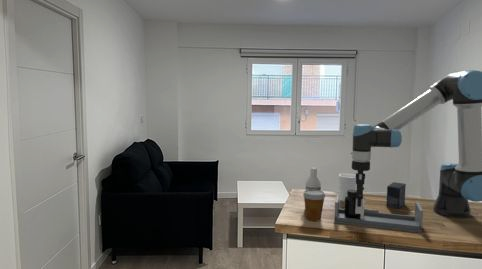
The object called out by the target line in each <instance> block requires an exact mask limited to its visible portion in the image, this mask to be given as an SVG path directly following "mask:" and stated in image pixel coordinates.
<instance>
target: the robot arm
mask: <svg viewBox="0 0 482 269" xmlns="http://www.w3.org/2000/svg"><path fill="white" fill-rule="evenodd" d="M451 100H452V104H453V106H454V107H455V108H456V109H457V110H456V112H457V114H456V115H457V141H458V142H457V144H458V145H457V146H458V147H457V148H458V150H457V151H458V163H442V164H441V165H440V170H439V184H438V186H439V187H438V195H437V198H436V199H435V201H434V204H433V212H435V213H437V214H439V215H442V216H446V217H451V218H458V219H459V218H460V219H461V218H469V217H470V216H471V212H472V211H471V206H470V203H469V201H471V202H476V203H477V202H478V203H479V202H482V71H481V70H475V69H469V70H461V71H460V70H459V71H454V72H451V73H449V74H447V75H445V76H443V77H442V78H440V79H439V80H438V81H436V82H435V83H434V84H431V86H429V88H428V90H426V91H425V92H424V93H422V94H421V95H419V96H418V97H417V98H415V99H414V100H412V101H410V102H409V103H407V104H406V105H404V106H402V107H401V108H400V109H398V110H397V111H395V112H394V113H392V114H391V115H389V116H388V117H386V118H384V119H383V120H382V121H381V122H378V123H377V124H375V125H371V124H367V123H365V124H363V123H359V124H358V123H357V124H355V125H354V126H353V129H352V130H353V131H352V151H351V152H350V155H352V156H351V158H352V160H351V169H352V170H354V171H357V172H355V175H356V190H357V196H355V199H356V210H355V213H356V214H362V207H363V199H364V191H365V187H364V185H365V179H366V172H368V171H370V170H371V159H372V158H371V156H372V148H398V147H399V148H400V146H401V144H402V141H403V140H402V139H403V138H402V137H403V136H402V133H401V131H400V130H402V129H403V128H405V127H406V126H407V125H409V124H410V123H413V121H415V120H417V119H419V117H421V116H423V115H425V114H426V113H427V112H429V111H431V110H432V109H434V108H435V107H437V106H438V105H444V104H446V103H448V102H450V101H451ZM364 172H365V173H364Z"/></svg>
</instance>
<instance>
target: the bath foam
mask: <svg viewBox="0 0 482 269" xmlns="http://www.w3.org/2000/svg"><path fill="white" fill-rule="evenodd" d="M317 174H318V168H317V167H314V166H313V167H310V176H309V177H308V178H307V180H306V181H305V182H306V183H305V191H306V190H320V191H322V185H321V181H320V179H319V177H318V175H317Z"/></svg>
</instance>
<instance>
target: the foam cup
mask: <svg viewBox="0 0 482 269" xmlns="http://www.w3.org/2000/svg"><path fill="white" fill-rule="evenodd" d="M337 176H338V185H339V195H340V201H342V202H344V203H345V197H346V196H348V195H347V191H348V190H357V184H356V173H347V172H344V173H339V174H338V175H337Z"/></svg>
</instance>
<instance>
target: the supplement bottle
mask: <svg viewBox="0 0 482 269" xmlns="http://www.w3.org/2000/svg"><path fill="white" fill-rule="evenodd" d="M347 195H348V196H346V197H345V202H344V209H345V210H344V216H345V218H353V219H360V217H361V214H356V213H355V210H356V199H355V196H357V189H356V190H348V191H347Z"/></svg>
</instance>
